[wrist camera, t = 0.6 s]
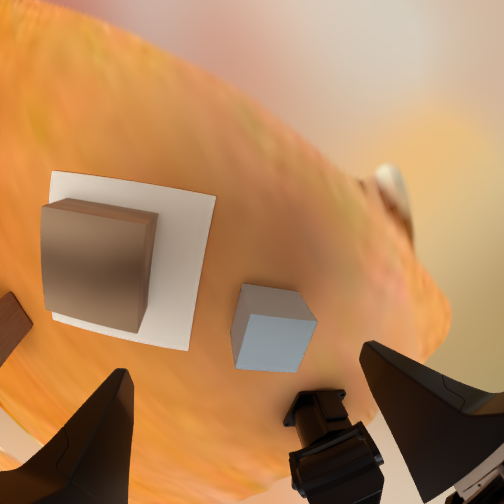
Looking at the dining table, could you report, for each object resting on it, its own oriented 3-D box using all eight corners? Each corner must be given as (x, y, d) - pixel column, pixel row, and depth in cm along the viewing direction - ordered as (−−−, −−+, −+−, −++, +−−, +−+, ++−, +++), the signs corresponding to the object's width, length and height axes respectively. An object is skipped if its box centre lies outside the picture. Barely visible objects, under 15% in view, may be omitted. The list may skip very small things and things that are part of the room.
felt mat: (188, 348, 24) (187, 351, 23) (54, 317, 21) (53, 319, 20) (216, 195, 20) (216, 196, 19) (54, 170, 17) (52, 170, 17)
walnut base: (147, 307, 21) (137, 333, 18) (65, 287, 20) (45, 309, 16) (158, 213, 19) (146, 224, 15) (67, 197, 18) (41, 206, 14)
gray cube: (282, 337, 25) (296, 372, 20) (230, 331, 24) (235, 368, 19) (298, 291, 24) (317, 321, 19) (242, 282, 22) (250, 314, 18)
